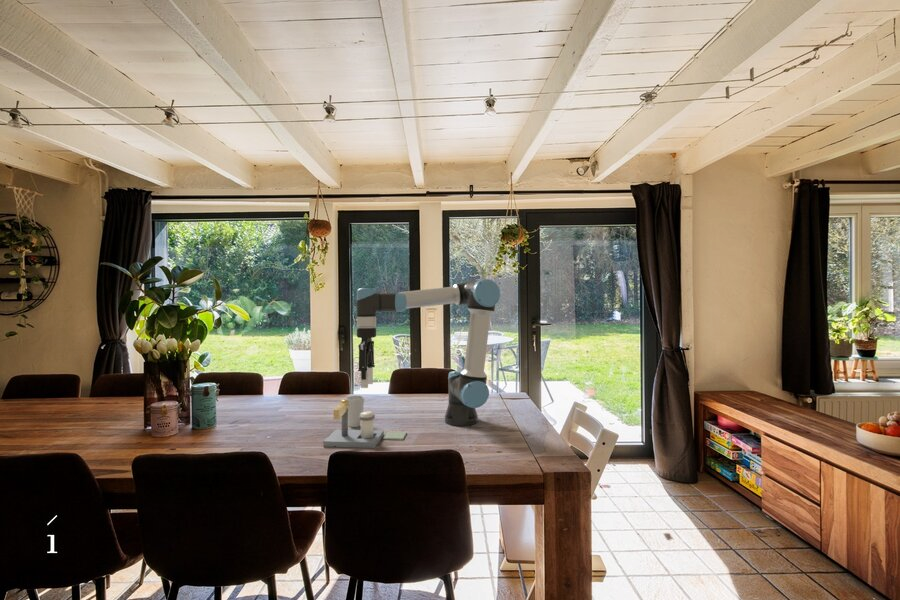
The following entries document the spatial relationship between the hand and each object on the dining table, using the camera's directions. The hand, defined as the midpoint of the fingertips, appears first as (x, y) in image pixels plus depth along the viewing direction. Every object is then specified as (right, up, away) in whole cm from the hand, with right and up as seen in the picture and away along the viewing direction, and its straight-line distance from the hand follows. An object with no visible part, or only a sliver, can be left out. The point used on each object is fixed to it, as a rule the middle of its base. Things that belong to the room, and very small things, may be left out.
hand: (366, 385), depth 161 cm
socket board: (-5, -22, +1) cm, 22 cm away
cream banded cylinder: (0, -22, 0) cm, 22 cm away
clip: (-9, -10, -4) cm, 14 cm away
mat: (+10, -22, +5) cm, 25 cm away
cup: (-9, -22, +21) cm, 32 cm away
